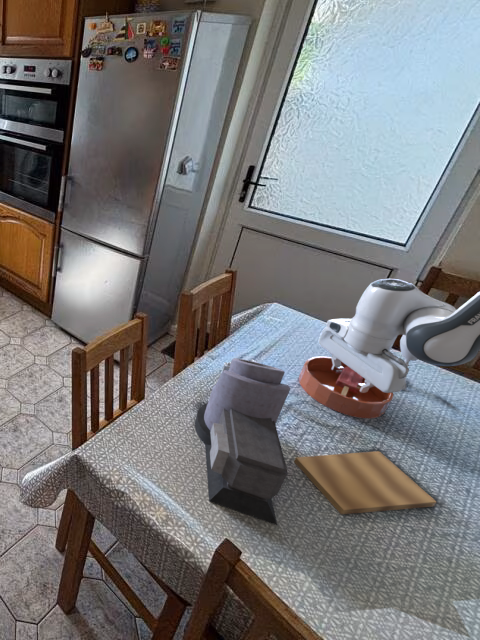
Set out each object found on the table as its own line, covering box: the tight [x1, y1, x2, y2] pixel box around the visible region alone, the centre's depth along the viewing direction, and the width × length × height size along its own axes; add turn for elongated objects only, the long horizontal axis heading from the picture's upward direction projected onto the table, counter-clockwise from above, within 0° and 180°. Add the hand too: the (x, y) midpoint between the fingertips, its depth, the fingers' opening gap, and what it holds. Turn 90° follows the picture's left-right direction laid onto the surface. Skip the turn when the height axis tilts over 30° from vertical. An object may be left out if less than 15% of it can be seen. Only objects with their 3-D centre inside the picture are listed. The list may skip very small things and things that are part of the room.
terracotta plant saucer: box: [298, 355, 395, 420], centre depth 110 cm, size 18×18×5 cm
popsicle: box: [336, 367, 363, 396], centre depth 110 cm, size 4×2×15 cm
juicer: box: [194, 357, 291, 526], centre depth 89 cm, size 30×16×24 cm, turn 155°
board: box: [293, 450, 437, 515], centre depth 88 cm, size 20×12×2 cm, turn 94°
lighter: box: [220, 359, 257, 374], centre depth 115 cm, size 7×2×8 cm, turn 58°
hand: (348, 380), depth 109 cm, fingers closed on popsicle, 6 cm apart
